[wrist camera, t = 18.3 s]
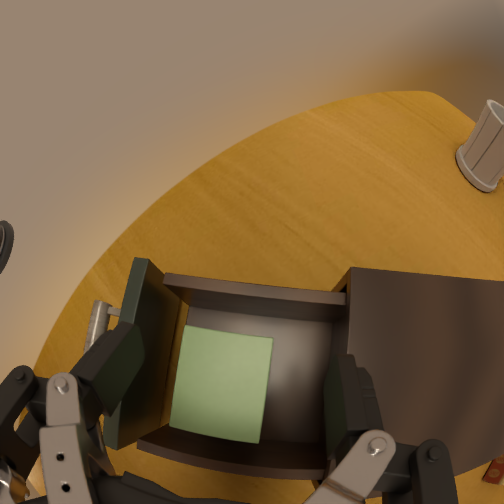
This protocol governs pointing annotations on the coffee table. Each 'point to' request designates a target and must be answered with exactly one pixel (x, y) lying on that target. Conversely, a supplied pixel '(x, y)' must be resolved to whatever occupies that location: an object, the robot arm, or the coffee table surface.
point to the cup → (484, 149)
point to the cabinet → (430, 359)
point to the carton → (496, 471)
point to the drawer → (236, 321)
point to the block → (221, 384)
